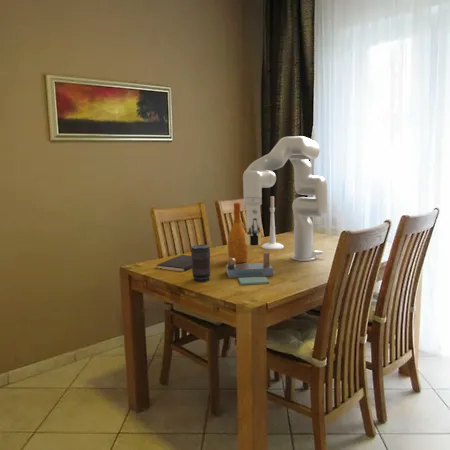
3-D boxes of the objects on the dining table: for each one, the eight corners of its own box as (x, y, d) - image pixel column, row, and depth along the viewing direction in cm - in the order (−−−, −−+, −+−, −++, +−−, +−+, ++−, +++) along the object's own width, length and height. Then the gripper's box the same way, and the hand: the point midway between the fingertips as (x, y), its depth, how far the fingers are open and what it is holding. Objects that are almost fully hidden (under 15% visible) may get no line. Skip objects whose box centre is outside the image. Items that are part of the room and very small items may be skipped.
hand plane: (268, 269, 208) (268, 250, 207) (273, 275, 198) (272, 254, 197) (226, 271, 206) (225, 252, 205) (228, 277, 196) (228, 256, 195)
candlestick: (287, 246, 259) (287, 195, 255) (277, 250, 249) (277, 197, 244) (267, 244, 266) (267, 194, 261) (257, 248, 256) (257, 196, 251)
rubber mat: (265, 278, 195) (265, 276, 194) (269, 283, 187) (269, 281, 187) (238, 279, 193) (238, 277, 193) (240, 285, 186) (240, 283, 185)
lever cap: (259, 242, 190) (259, 230, 189) (261, 244, 185) (261, 232, 184) (245, 242, 190) (245, 230, 189) (246, 245, 185) (246, 232, 184)
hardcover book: (156, 269, 216) (156, 264, 216) (182, 259, 236) (182, 254, 236) (184, 272, 209) (184, 268, 208) (208, 261, 229) (208, 257, 228)
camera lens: (192, 277, 198) (190, 244, 196) (210, 276, 199) (209, 244, 196) (192, 282, 190) (191, 248, 188) (211, 282, 191) (210, 247, 188)
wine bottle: (246, 264, 220) (245, 203, 215) (226, 263, 222) (225, 203, 217) (249, 259, 229) (248, 201, 225) (230, 258, 231) (229, 201, 227)
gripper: (265, 202, 176) (265, 247, 179) (258, 198, 193) (258, 239, 196) (246, 203, 176) (247, 248, 179) (240, 199, 193) (241, 240, 195)
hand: (253, 243), depth 187 cm, fingers closed on lever cap, 5 cm apart
